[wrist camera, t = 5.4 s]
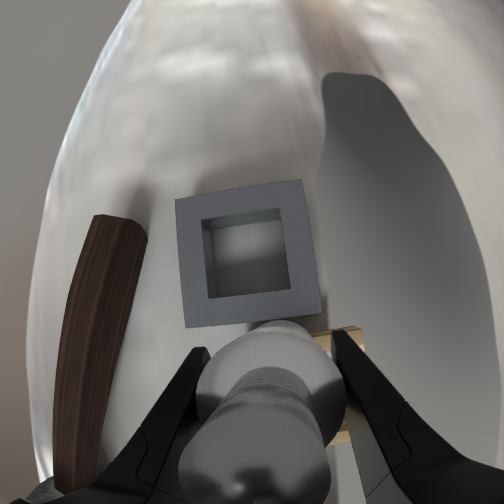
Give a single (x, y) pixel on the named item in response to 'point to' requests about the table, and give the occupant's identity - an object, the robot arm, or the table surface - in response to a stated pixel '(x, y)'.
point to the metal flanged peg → (264, 421)
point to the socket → (238, 213)
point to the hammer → (91, 349)
